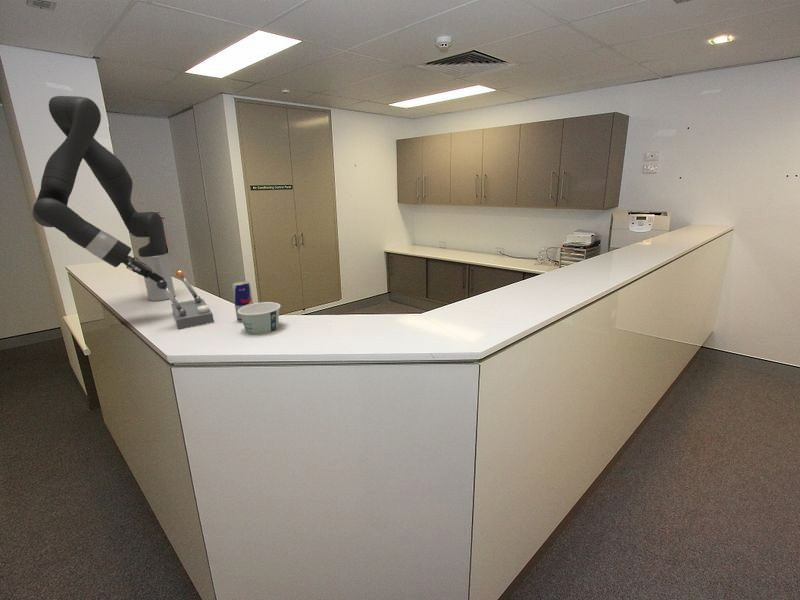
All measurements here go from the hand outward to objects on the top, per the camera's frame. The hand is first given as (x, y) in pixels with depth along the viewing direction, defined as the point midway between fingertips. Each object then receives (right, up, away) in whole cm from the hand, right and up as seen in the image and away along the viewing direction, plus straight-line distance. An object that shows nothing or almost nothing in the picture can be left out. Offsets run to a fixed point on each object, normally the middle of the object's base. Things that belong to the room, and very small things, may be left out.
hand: (162, 281), depth 134 cm
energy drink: (+29, -12, -4) cm, 32 cm away
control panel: (+9, -12, +2) cm, 15 cm away
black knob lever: (+10, -10, -7) cm, 16 cm away
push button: (+15, -10, -4) cm, 19 cm away
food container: (+37, -15, -12) cm, 42 cm away
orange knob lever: (+8, -6, +7) cm, 12 cm away
